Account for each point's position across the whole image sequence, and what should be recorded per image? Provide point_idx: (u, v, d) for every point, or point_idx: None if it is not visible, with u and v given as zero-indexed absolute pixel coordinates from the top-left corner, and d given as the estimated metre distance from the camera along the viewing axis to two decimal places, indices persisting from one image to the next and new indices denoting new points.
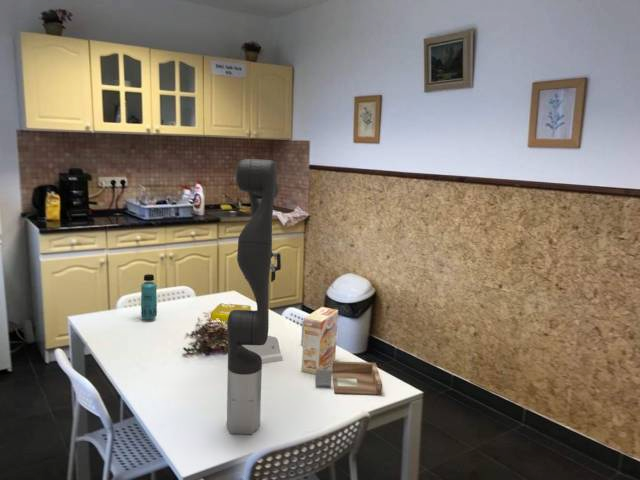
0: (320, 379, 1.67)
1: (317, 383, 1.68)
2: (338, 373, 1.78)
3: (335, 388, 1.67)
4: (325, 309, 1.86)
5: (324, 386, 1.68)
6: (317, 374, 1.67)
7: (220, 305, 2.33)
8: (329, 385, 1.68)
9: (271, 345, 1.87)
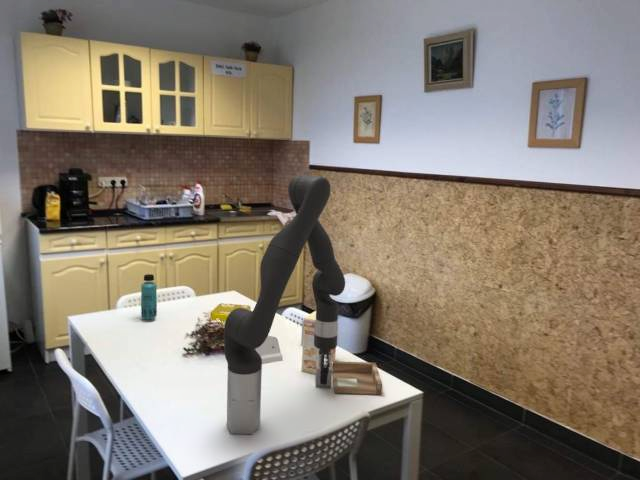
0: None
1: (317, 383, 1.68)
2: (338, 373, 1.78)
3: (335, 388, 1.67)
4: None
5: (324, 386, 1.68)
6: (317, 374, 1.67)
7: (220, 305, 2.33)
8: (329, 385, 1.68)
9: (271, 345, 1.87)
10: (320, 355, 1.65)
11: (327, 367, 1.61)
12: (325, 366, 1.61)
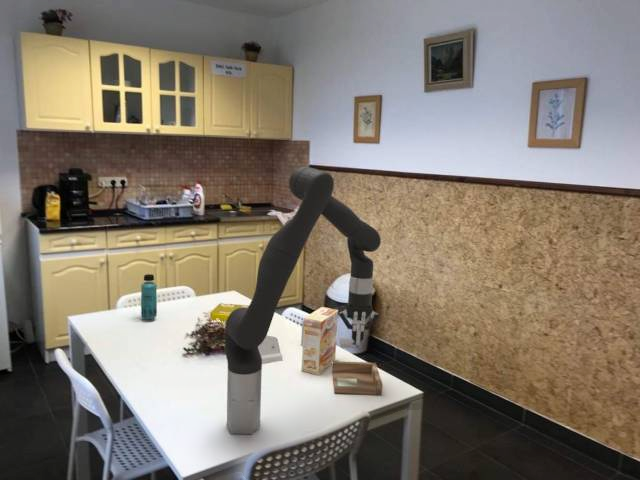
0: None
1: (359, 343, 1.67)
2: (338, 373, 1.78)
3: (335, 388, 1.67)
4: (325, 309, 1.86)
5: None
6: None
7: (220, 305, 2.33)
8: None
9: (271, 345, 1.87)
10: (365, 313, 1.65)
11: None
12: None
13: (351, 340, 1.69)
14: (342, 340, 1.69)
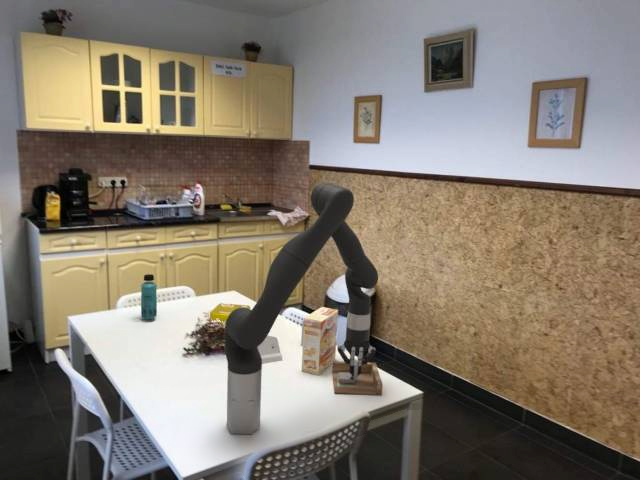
0: None
1: None
2: None
3: (335, 388, 1.67)
4: (325, 309, 1.86)
5: None
6: (357, 369, 1.68)
7: (220, 305, 2.33)
8: None
9: (271, 345, 1.88)
10: (362, 348, 1.67)
11: None
12: None
13: (348, 374, 1.72)
14: (340, 374, 1.71)
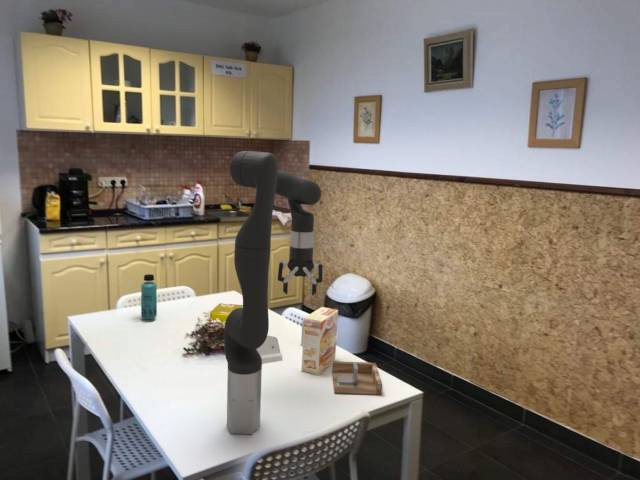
0: None
1: None
2: (338, 373, 1.78)
3: (335, 388, 1.67)
4: (325, 309, 1.86)
5: None
6: (357, 372, 1.68)
7: (219, 305, 2.33)
8: None
9: (271, 345, 1.88)
10: (306, 267, 1.63)
11: None
12: None
13: (348, 377, 1.72)
14: (340, 377, 1.72)
